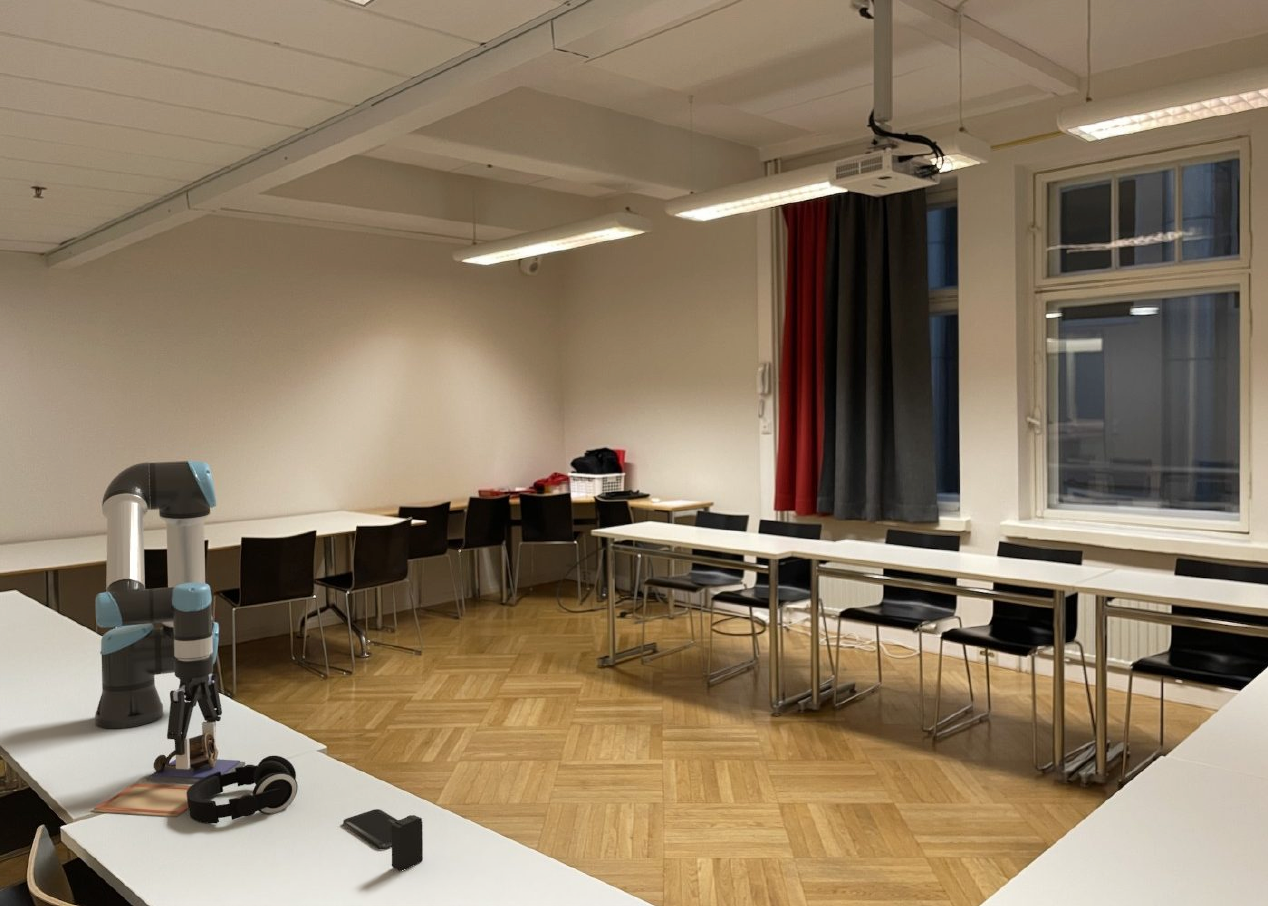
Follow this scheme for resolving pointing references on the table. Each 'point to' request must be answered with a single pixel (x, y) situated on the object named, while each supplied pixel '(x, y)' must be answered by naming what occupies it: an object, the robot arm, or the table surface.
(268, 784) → the headphones
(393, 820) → the phone
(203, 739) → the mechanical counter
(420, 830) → the ink cartridge
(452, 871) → the table surface
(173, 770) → the ink pad
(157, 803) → the print sheet
